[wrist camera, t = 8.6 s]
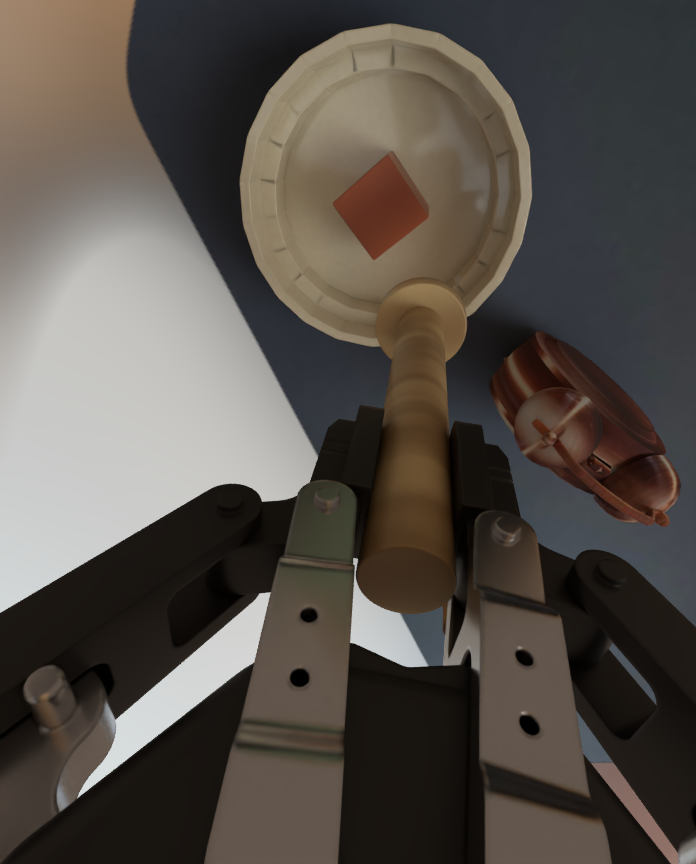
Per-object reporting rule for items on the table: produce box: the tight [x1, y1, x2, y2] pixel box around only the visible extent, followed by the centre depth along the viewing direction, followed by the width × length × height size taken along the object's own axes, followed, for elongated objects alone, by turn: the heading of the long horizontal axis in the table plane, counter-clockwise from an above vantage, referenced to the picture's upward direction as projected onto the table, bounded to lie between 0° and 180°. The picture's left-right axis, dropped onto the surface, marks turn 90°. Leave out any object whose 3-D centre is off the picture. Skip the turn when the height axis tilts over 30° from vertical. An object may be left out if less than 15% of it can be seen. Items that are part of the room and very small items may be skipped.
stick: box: [356, 277, 467, 614], centre depth 16 cm, size 4×4×15 cm
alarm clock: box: [489, 331, 681, 527], centre depth 30 cm, size 11×5×15 cm, turn 56°
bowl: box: [240, 23, 532, 347], centre depth 29 cm, size 16×16×5 cm
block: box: [333, 151, 429, 260], centre depth 29 cm, size 4×4×4 cm
